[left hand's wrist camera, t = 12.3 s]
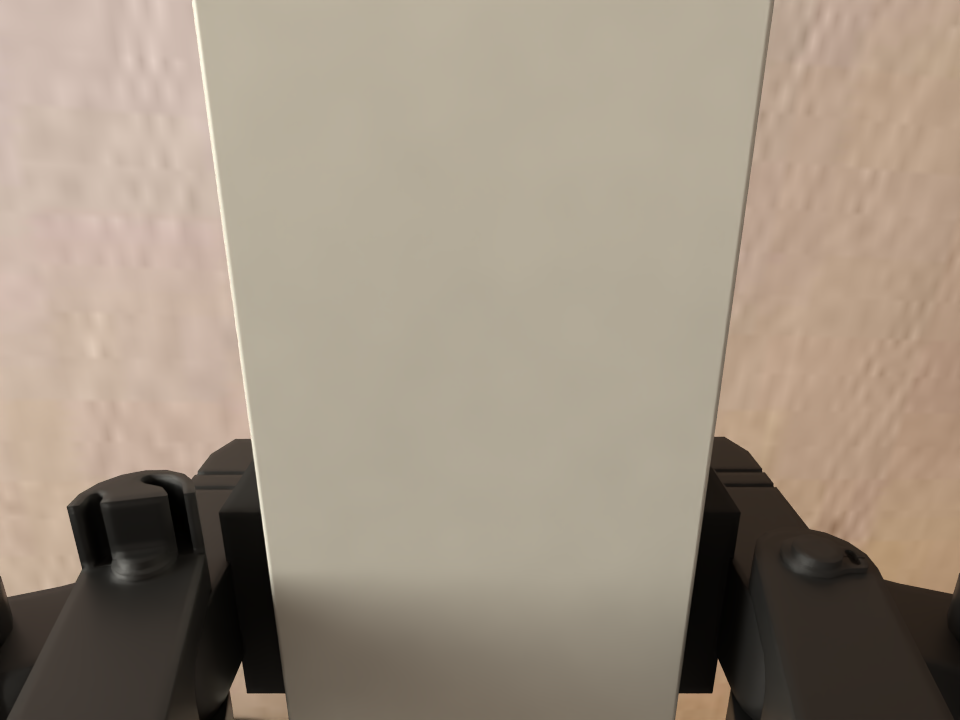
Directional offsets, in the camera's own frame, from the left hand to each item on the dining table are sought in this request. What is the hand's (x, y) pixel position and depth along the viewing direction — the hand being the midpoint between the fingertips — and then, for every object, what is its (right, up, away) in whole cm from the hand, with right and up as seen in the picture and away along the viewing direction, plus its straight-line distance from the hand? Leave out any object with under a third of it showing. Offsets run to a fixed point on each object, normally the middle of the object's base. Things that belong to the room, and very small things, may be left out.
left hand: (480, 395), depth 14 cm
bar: (0, +8, -2) cm, 9 cm away
